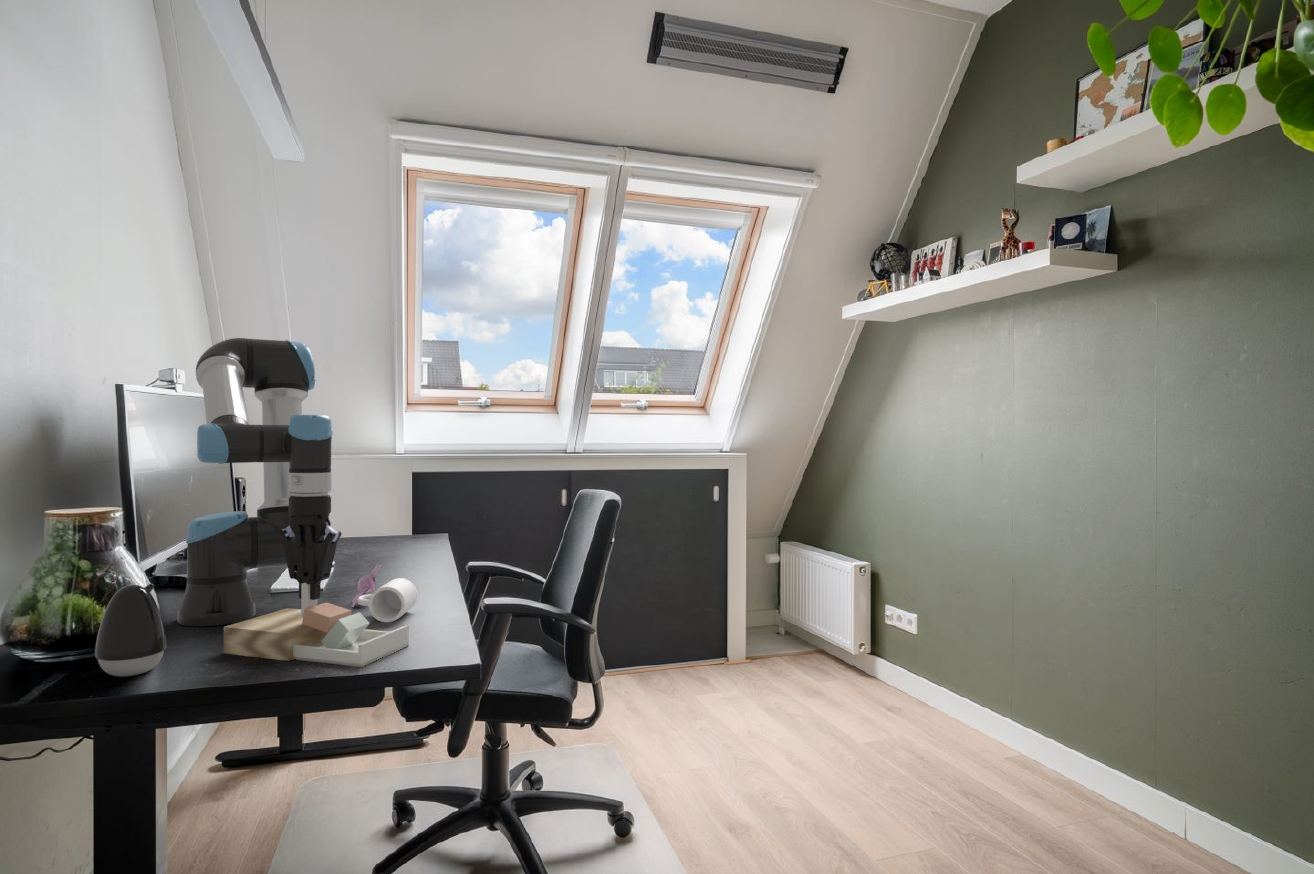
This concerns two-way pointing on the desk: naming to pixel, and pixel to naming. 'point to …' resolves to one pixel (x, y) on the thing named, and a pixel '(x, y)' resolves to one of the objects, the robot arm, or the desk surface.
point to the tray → (357, 648)
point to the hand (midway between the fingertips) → (309, 615)
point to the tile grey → (345, 631)
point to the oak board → (271, 635)
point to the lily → (366, 584)
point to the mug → (390, 600)
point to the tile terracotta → (324, 616)
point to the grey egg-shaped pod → (130, 633)
